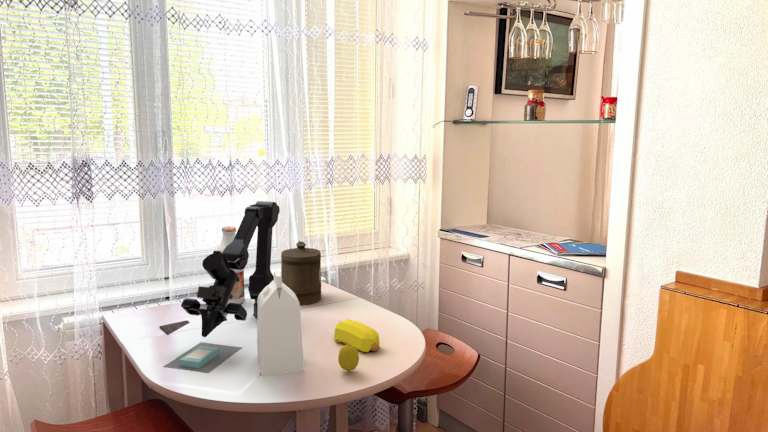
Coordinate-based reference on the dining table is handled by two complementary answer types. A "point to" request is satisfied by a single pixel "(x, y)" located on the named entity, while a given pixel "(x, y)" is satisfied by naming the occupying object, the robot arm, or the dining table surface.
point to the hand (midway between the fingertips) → (203, 336)
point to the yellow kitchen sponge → (357, 335)
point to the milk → (279, 329)
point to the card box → (199, 356)
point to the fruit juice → (239, 286)
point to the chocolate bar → (173, 327)
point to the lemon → (348, 357)
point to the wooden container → (302, 272)
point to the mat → (212, 364)
